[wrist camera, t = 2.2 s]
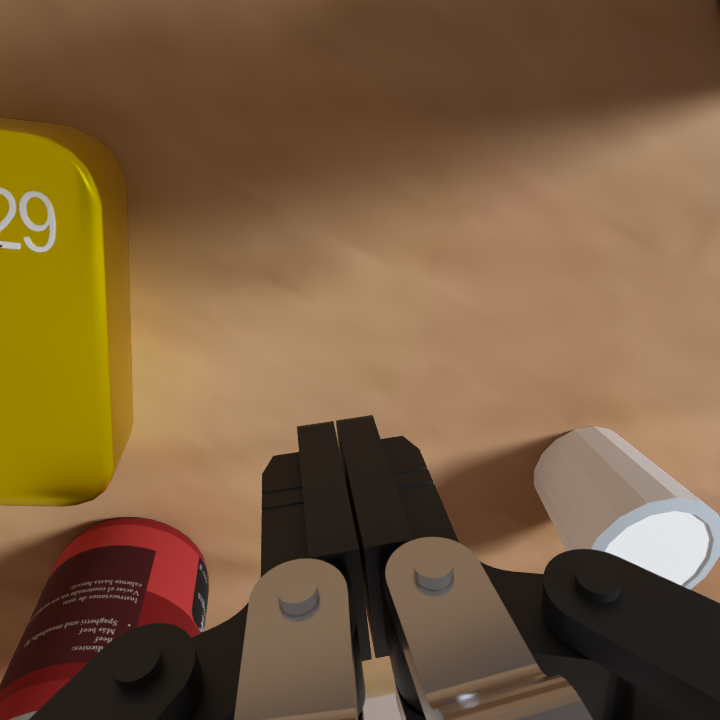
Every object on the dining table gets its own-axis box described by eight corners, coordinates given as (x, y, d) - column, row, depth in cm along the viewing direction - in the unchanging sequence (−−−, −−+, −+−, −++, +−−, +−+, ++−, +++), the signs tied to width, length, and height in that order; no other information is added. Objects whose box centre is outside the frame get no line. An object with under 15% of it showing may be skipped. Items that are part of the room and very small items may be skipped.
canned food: (162, 639, 34) (116, 869, 24) (29, 585, 31) (-85, 821, 21) (240, 555, 32) (227, 766, 22) (107, 488, 29) (23, 697, 19)
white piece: (499, 497, 33) (554, 595, 26) (569, 398, 30) (646, 479, 24) (591, 530, 35) (662, 628, 28) (662, 440, 32) (756, 525, 26)
